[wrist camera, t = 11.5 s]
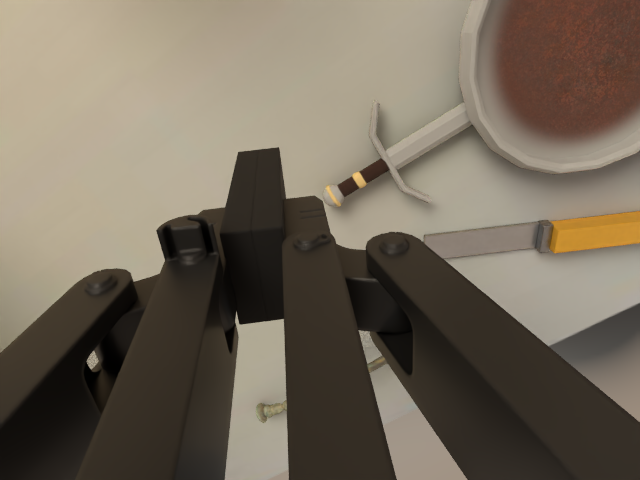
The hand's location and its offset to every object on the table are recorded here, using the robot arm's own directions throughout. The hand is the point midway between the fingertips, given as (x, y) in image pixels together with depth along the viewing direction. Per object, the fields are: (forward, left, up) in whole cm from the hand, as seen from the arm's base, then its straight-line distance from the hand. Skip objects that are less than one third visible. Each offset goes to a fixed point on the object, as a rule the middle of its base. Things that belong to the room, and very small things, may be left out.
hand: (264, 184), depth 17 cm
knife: (+19, -12, -14) cm, 27 cm away
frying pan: (+15, 0, -14) cm, 21 cm away
